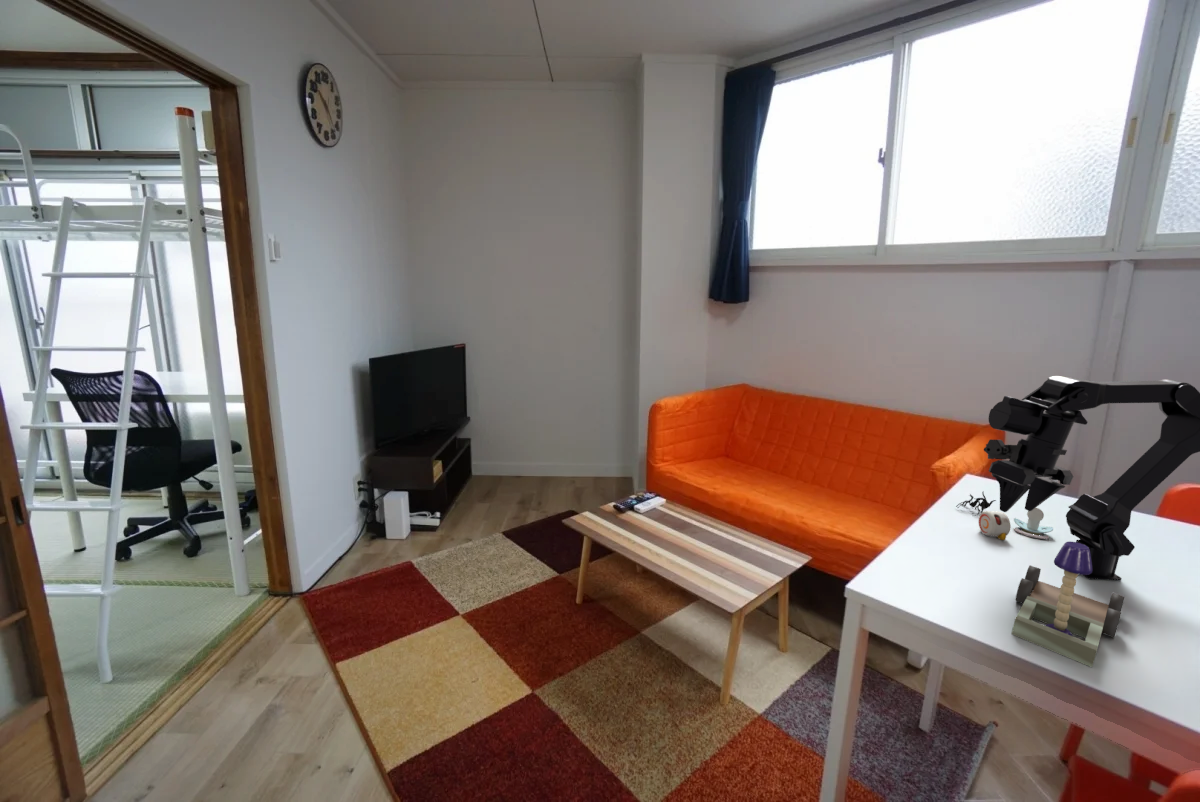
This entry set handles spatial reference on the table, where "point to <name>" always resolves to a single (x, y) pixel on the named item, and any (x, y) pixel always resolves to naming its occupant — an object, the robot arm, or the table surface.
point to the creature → (983, 504)
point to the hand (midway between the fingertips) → (1015, 510)
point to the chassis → (1083, 620)
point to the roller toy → (994, 524)
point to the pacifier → (1033, 525)
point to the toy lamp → (1069, 579)
